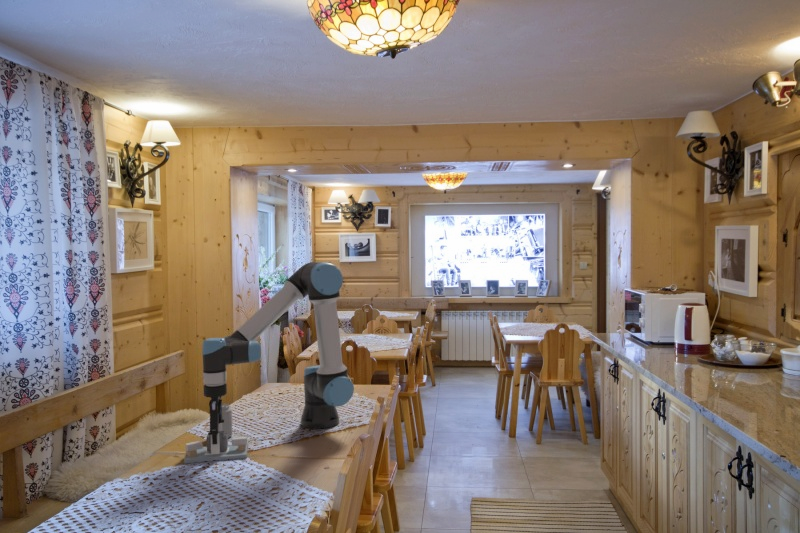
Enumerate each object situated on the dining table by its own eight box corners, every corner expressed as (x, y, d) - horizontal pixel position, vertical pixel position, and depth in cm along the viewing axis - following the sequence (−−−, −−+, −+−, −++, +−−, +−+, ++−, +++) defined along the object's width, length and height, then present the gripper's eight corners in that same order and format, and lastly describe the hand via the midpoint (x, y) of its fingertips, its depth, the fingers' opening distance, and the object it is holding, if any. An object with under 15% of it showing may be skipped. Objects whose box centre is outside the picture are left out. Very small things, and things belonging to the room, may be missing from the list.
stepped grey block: (206, 453, 203) (206, 436, 203) (208, 449, 207) (207, 432, 207) (227, 452, 204) (226, 434, 204) (228, 447, 208) (227, 430, 208)
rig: (248, 446, 214) (247, 432, 213) (246, 458, 202) (246, 443, 202) (188, 451, 210) (187, 437, 209) (183, 463, 198) (182, 448, 198)
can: (226, 441, 220) (225, 408, 220) (207, 440, 222) (206, 407, 221) (236, 434, 228) (235, 403, 227) (218, 433, 229) (217, 402, 229)
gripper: (207, 377, 216) (209, 437, 216) (199, 392, 193) (201, 460, 193) (229, 375, 217) (230, 436, 218) (223, 390, 194) (225, 458, 195)
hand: (217, 447), depth 206 cm, fingers open, 11 cm apart
